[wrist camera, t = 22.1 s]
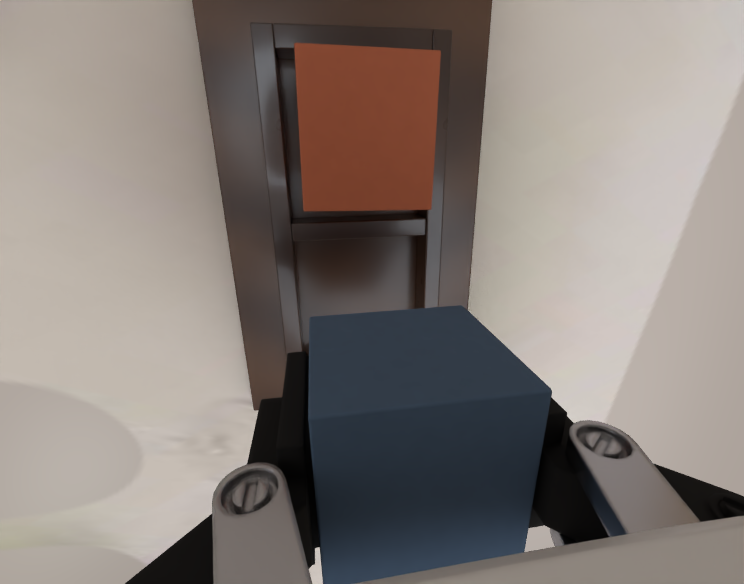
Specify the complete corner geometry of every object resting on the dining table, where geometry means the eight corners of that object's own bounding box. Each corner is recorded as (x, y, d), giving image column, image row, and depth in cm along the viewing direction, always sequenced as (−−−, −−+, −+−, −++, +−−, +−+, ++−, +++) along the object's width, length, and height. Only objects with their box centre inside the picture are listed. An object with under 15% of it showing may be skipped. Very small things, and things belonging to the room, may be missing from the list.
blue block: (309, 315, 10) (307, 417, 6) (462, 304, 11) (554, 389, 7) (320, 454, 12) (325, 608, 8) (452, 437, 13) (522, 571, 9)
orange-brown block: (298, 74, 15) (294, 42, 11) (406, 79, 16) (441, 50, 12) (305, 199, 17) (303, 211, 13) (402, 198, 17) (431, 210, 13)
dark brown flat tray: (193, -32, 14) (170, -69, 12) (484, -16, 16) (513, -46, 14) (256, 400, 21) (249, 429, 19) (455, 379, 23) (472, 404, 20)
